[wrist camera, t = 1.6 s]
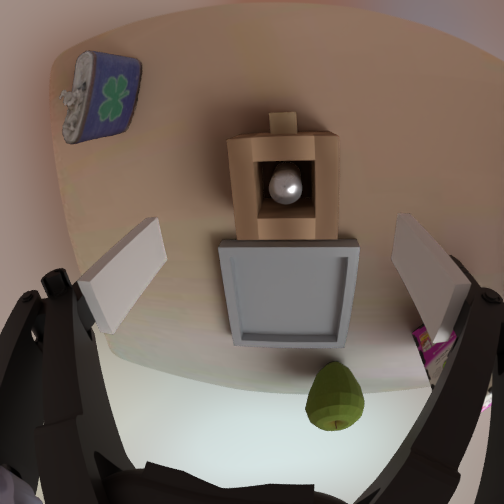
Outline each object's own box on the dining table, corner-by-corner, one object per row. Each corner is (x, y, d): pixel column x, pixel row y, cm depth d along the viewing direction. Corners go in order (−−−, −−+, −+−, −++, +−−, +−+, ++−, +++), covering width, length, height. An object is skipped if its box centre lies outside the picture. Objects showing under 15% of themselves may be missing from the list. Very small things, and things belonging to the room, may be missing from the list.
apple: (302, 353, 40) (299, 419, 30) (357, 344, 37) (367, 410, 27) (310, 385, 43) (309, 443, 33) (359, 377, 41) (365, 436, 31)
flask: (128, 58, 23) (64, 49, 14) (148, 60, 23) (87, 47, 14) (111, 131, 28) (47, 148, 18) (130, 135, 28) (68, 153, 19)
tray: (356, 239, 30) (360, 247, 28) (343, 337, 37) (344, 347, 35) (222, 239, 32) (217, 247, 31) (236, 335, 40) (233, 345, 38)
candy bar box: (424, 345, 36) (451, 432, 22) (410, 332, 35) (439, 426, 21) (477, 301, 31) (523, 381, 17) (467, 284, 30) (519, 369, 16)
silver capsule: (300, 161, 27) (301, 172, 22) (301, 187, 28) (302, 204, 23) (272, 162, 27) (267, 173, 23) (274, 188, 29) (269, 204, 24)
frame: (329, 112, 24) (338, 111, 19) (330, 215, 29) (337, 239, 24) (238, 115, 26) (224, 116, 20) (247, 216, 31) (236, 239, 25)
